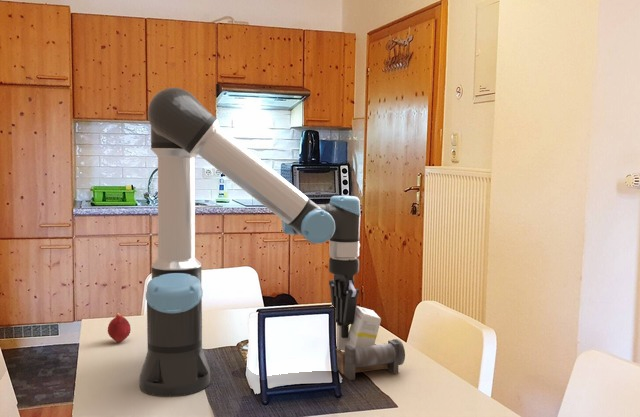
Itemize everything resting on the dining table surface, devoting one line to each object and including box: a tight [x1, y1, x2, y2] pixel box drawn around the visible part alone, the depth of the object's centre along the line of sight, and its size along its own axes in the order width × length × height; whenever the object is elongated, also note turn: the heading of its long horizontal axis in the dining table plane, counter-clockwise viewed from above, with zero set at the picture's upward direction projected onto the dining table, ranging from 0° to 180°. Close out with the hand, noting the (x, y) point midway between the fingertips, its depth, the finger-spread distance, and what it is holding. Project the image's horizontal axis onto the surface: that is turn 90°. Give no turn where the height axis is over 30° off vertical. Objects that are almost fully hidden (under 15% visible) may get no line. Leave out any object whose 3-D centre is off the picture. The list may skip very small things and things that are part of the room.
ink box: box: [343, 305, 382, 352], centre depth 150 cm, size 9×5×12 cm, turn 10°
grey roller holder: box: [336, 338, 406, 381], centre depth 148 cm, size 13×22×8 cm, turn 23°
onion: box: [107, 312, 131, 344], centre depth 162 cm, size 6×6×8 cm
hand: (342, 348), depth 155 cm, fingers closed
